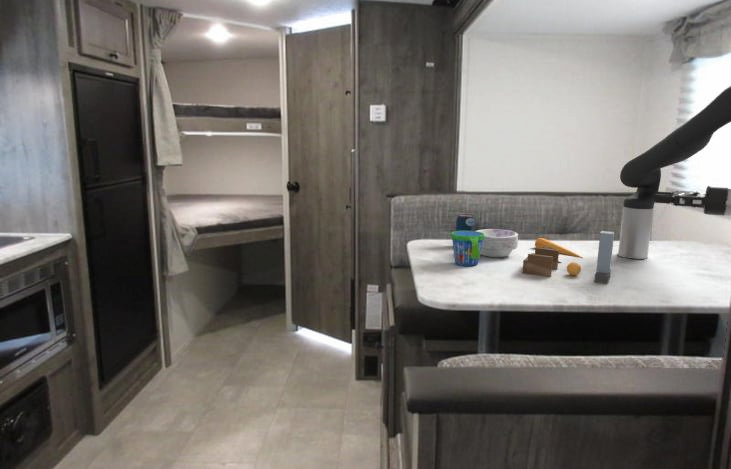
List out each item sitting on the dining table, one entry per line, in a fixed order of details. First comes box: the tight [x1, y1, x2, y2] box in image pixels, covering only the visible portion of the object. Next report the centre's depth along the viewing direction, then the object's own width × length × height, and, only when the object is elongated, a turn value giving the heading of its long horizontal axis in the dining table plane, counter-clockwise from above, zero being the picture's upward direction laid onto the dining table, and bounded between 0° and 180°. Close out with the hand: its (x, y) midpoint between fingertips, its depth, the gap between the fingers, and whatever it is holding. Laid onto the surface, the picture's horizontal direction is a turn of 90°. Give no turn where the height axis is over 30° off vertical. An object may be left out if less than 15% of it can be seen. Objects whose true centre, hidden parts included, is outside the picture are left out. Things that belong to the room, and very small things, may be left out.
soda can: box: [455, 213, 476, 231], centre depth 189 cm, size 7×7×12 cm
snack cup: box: [450, 230, 485, 267], centre depth 164 cm, size 16×10×10 cm
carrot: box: [534, 237, 584, 259], centre depth 182 cm, size 20×4×4 cm, turn 34°
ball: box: [566, 261, 582, 276], centre depth 153 cm, size 4×4×4 cm
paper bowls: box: [476, 228, 519, 258], centre depth 178 cm, size 15×15×8 cm
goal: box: [522, 247, 560, 278], centre depth 157 cm, size 11×8×6 cm
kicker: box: [593, 230, 615, 285], centre depth 148 cm, size 9×3×14 cm, turn 150°
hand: (655, 196), depth 139 cm, fingers open, 8 cm apart
